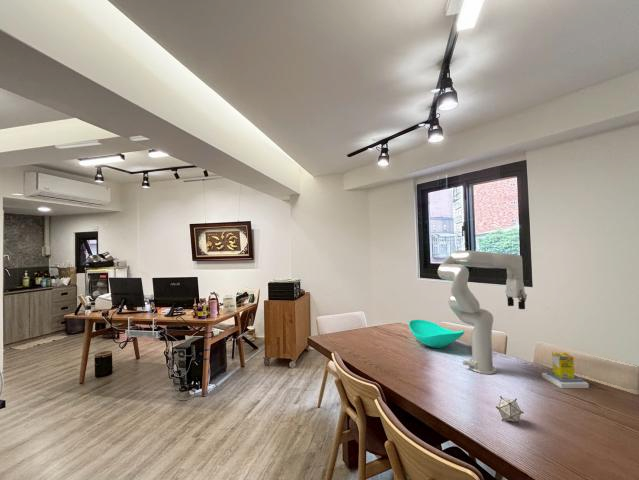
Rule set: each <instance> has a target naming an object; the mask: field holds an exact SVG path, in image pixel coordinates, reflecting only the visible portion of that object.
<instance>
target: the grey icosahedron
mask: <svg viewBox="0 0 639 480" xmlns="http://www.w3.org/2000/svg"><path fill="white" fill-rule="evenodd" d="M499 397H500V399H499V403H498V405H497V406H495V408H496V409H497V410H498V412H499V414H500V416H501V418H502V419H501V422H503V421H509V422H510V421H511V422H515V423H516V424H518V425H520V423H519V419H520V417H521V415H522V414H525V412H524V411H522V409H521V408H520V406H519V404H518V402H517V400H518V399H517V398H515V399H510V398H504V397H502V395H499Z"/></svg>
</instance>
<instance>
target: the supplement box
mask: <svg viewBox="0 0 639 480" xmlns="http://www.w3.org/2000/svg"><path fill="white" fill-rule="evenodd" d="M551 358H552V372H553V374H554V375H556V376H558V377H560V378H562V379H574V376H575V364H574V363H575V362H574V361H575V360H574V356H573V355H570V354H569V353H566V352H557V351H556V352H555V351H552V352H551Z"/></svg>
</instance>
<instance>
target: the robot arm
mask: <svg viewBox="0 0 639 480" xmlns="http://www.w3.org/2000/svg"><path fill="white" fill-rule="evenodd" d="M468 267H470V268H473V267H474V268H481V269H482V268H483V269H506V283H505V291H504V292H505V295H506V299H507V307H514V306H515V304H514V298H515V299H516V298H517V300H518V302H517V305H518V310H526V300H527V296H528V295H527V293H526V292H525V291H526V290H525V284H524V269H523V257H522V255H519V254H512V253H511V254H510V253H509V254H508V253H501V252H500V253H497V252H490V251H477V250H455V251H453V252H452V253H451V254H450V255H449V256H448V257H446V259H445V260H443V261H442V262H441V264H440V265H439V266H438V268H437V275H438V277H439V278H440V279H441V280H445V281H452V285H451V288H450V293H451V294H450V295H449V296H448V305H449V307H450V309H451V311H452V312H453V313H454V314H455V316H456V317H457V318H458V319H459V321H461V322H462V323H464V324H466V325H471V326H474V327H473V329H472V331H471V335H470V336H471V337H470V339H471V342H470V343H471V358H470V359H469V361H467V360H464V361H462V365H463V366H467V367H469V369H470V370H471V371H473V372H475V373H479V374H483V375H493V374H495V373H497V368H496V367H495V366H494V365H493V363H494V362H493V341H492V339H493V337H492V333H493V332H492V329H493V324H494V315H493V314H492V313H491V312H490V311H489V310H487V309H483V308H481V305H480V302H479V301H478V299H477V297H476V296H475V295H474V294H473V293H472V291H471V290H470V288H469V287H468V281H469V278H470V272H469V268H468Z"/></svg>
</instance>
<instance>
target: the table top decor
mask: <svg viewBox="0 0 639 480" xmlns="http://www.w3.org/2000/svg"><path fill="white" fill-rule="evenodd" d="M408 327H409V329H410V331H411V332H410V333H412V335H413V336H414V337H415V338H416V340H418V342H420V343H422V344H424V345H426V346H428V347H431V348H437V349H440V348H444V347H446V346H448V345H450V344H452V343H454V342H455V341H457V340H459V339H460V338H461V337H462V336H463V335H464V334H465V331H464V330H457V331H454V330H451V329H448V328H444V327H442V326H441V325H439V324H436V323H435V322H432V321H429V320H426V319H413V320H410V321H409V322H408Z"/></svg>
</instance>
